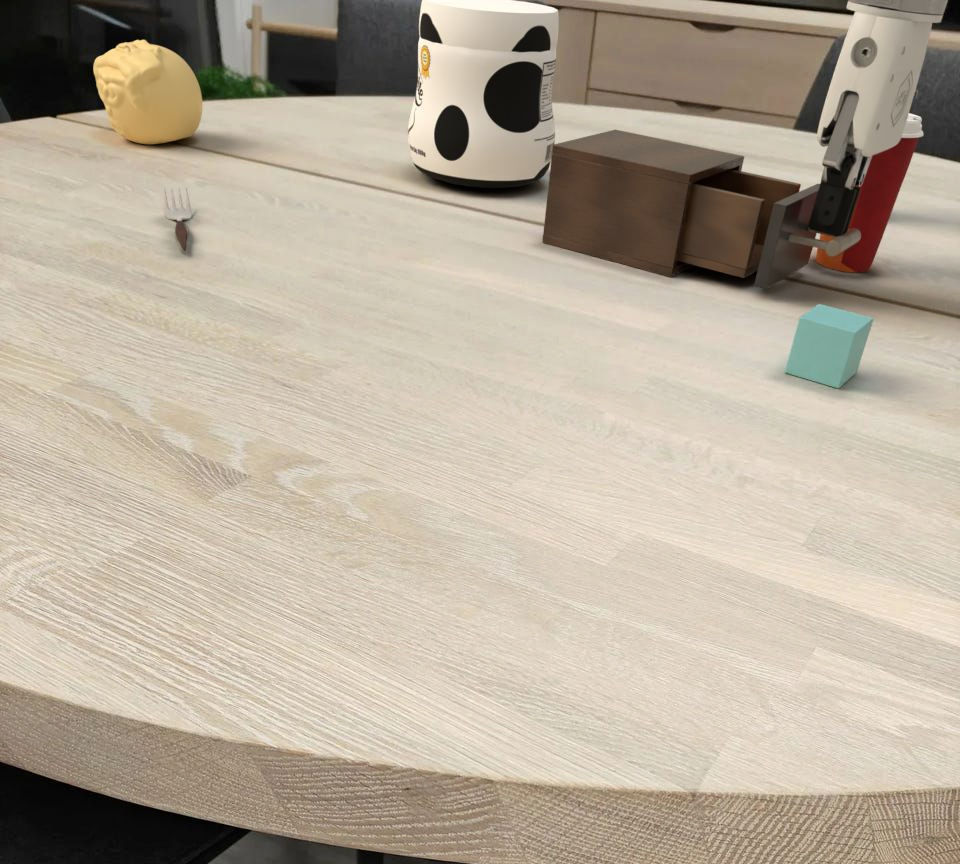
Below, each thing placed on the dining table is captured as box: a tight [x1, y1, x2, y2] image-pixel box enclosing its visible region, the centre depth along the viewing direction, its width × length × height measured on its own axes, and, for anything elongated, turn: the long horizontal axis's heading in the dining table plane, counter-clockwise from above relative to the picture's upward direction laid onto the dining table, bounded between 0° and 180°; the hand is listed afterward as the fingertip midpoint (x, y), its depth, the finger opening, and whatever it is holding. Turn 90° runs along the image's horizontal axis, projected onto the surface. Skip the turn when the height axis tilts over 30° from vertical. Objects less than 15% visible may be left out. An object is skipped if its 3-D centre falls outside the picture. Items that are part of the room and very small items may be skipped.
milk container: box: [407, 0, 560, 189], centre depth 115 cm, size 17×17×18 cm
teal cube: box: [784, 303, 874, 389], centre depth 77 cm, size 4×4×4 cm
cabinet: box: [541, 129, 745, 278], centre depth 99 cm, size 15×13×9 cm
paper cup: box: [815, 112, 925, 273], centre depth 99 cm, size 8×8×14 cm
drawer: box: [677, 169, 861, 291], centre depth 94 cm, size 18×11×7 cm, turn 55°
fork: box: [163, 186, 193, 252], centre depth 95 cm, size 3×16×2 cm, turn 16°
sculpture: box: [92, 39, 203, 145], centre depth 121 cm, size 11×12×11 cm
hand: (826, 230), depth 91 cm, fingers closed
